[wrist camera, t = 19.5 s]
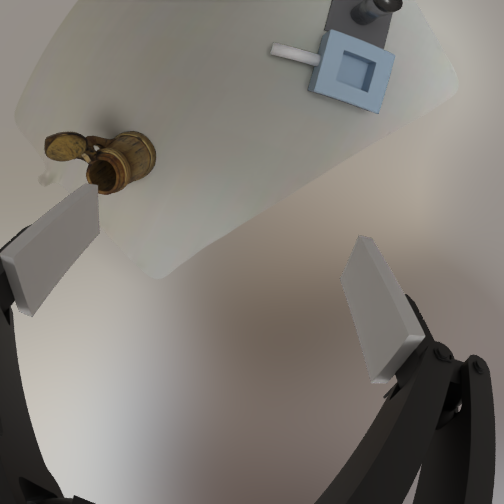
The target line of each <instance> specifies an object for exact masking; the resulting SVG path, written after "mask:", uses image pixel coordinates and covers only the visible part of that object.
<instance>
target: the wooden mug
mask: <svg viewBox="0 0 504 504" xmlns="http://www.w3.org/2000/svg"><path fill="white" fill-rule="evenodd" d="M93 145H96V146H98V147H99V148H100V149H99V150H97V151H95V150H94V147H93ZM45 154H46V156H47V157H49V158H50V159H52V160H56V161H69V160H72V159H76V158H78V159H81V160H84V161H85V162H87V163H88V164H89V165H88V168H87V172H86V177H87V181H88V183H89V184H94V185H98V193H99V194H104V195H109V194H111V193H115V192H118V191H120V190H122V189H123V188H124V187H126V185H127V184H129V183H131V182H133V181H136V180H139V179H141V178H143V177H145V176H146V175H148V174H149V173H150V172H151V170H152V169H153V167H154V165H155V160H156V151H155V149H154V146H153V145H152V143H151V142H150V140H149V139H148V138H147V137H146V136H144V135H142V134H141V133H138V132H135V131H130V132H124V133H121V134H119V135H117V136H116V137H115V138H114V139H105V138H101V137H97V136H87V137H84V136H83V135H81V134H79V133H75V132H60V133H56V134H53V135H51V136H48V137H47V138H46V139H45Z"/></svg>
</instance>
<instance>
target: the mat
mask: <svg viewBox="0 0 504 504" xmlns="http://www.w3.org/2000/svg"><path fill="white" fill-rule="evenodd" d="M362 1H363V0H332V3H331V7H330V10H329V14H328V18H327V22H326V25H325V29H324V30H325V31H329V30H331V29H332V30H335V31H338V32H341V33H344V34H346V35H349V36H352V37H354V38H357V39H360V40H362V41H365V42H367V43H369V44H372V45H374V46H376V47H379V48H381V49H384V46H385V42H386V38H387V34H388V30H389V25H390V21H391V17H392V13H391V14H388V15H386V16H384V17H382V18H380V19H378V20H376V21H373V22H371V23H369V24H367V25H359V24H357V23H356V22H354V21H353V20H352V18H351V15H350V12H351V9H352V8H354V7H355V6H356V5H357V4H359V3H360V2H362Z"/></svg>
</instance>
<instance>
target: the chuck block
mask: <svg viewBox="0 0 504 504" xmlns="http://www.w3.org/2000/svg"><path fill="white" fill-rule="evenodd" d="M271 55H276V56H280V57H284V58H288V59H292V60H295V61H299V62H303V63H306V64H310V65H313V66H314V69H313V73H312V77H311V80H310V84H309V87H308V91H312V92H315V93H318V94H321V95H325V96H328V97H331V98H334V99H337V100H340V101H343V102H345V103H348V104H351V105H354V106H356V107H359V108H362V109H364V110H367V111H371V112H374V113H377V114H379V111H380V108H381V105H382V101H383V98H384V95H385V91H386V88H387V84H388V81H389V77H390V74H391V70H392V66H393V63H394V59H395V55H394V54H392V53H390V52H388V51H385V50H383V49H381V48H379V47H376V46H374V45H372V44H369V43H367V42H365V41H362V40H360V39H357V38H354V37H352V36H349V35H346V34H344V33H341V32H338V31H335V30H332V29H331V30H329V31H328V32H327V33H325V34H324V35H323V36H322V40H321V44H320V47H319V51H318V54H316V53H312V52H309V51H305V50H302V49H298V48H295V47H291V46H287V45H283V44H279V43H274V42H273V46H272V50H271Z"/></svg>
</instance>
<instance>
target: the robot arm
mask: <svg viewBox="0 0 504 504" xmlns="http://www.w3.org/2000/svg"><path fill="white" fill-rule="evenodd" d="M99 233H100V230H99V209H98V185H94V184H87V183H85V184H84V185H83V186H81V187H80V188H78V189H77V190H76V191H74V192H73V193H71V194H70V195H69V196H67V197H66V198H65V199H63V200H62V201H61V202H59V203H58V204H57V205H56V206H54V207H53V208H52V209H50V210H49V211H48V212H47V213H45V214H44V215H43V216H42V217H40V218H39V219H38V220H37V221H36V222H34V223H33V224H31V225H29V226H27V227H25V228H24V229H22V230H21V231H20V232H19V233H18V234H17V235H16V236H15V237H13V238H12V239H11V241H9V242H8V243H7V244H5V245H4V246H3V247H2V248H1V249H0V504H95V503H92V502H90V501H87V500H85V499H82V498H80V497H78V496H75V495H74V497H73V499H72V498H64V496H63V494H62V492H61V490H60V487H59V486H58V484H57V482H56V481H55V479H54V477H53V476H52V475H51V473H50V472H49V471H48V469H47V467H46V465H45V463H44V460H43V458H42V455H41V452H40V449H39V446H38V443H37V440H36V437H35V434H34V430H33V427H32V424H31V421H30V416H29V413H28V409H27V405H26V400H25V396H24V391H23V387H22V381H21V376H20V370H19V365H18V358H17V350H16V342H15V333H14V322H13V312H12V309H11V305H12V303H13V302H14V301H15V302H16V305H17V307H18V310H19V312H21V313H24V314H26V315H28V316H31V317H33V316H34V314H35V313H36V311H37V310H38V309H39V307H40V306H41V304H42V303H43V302H44V300H45V299H46V297H47V296H48V295H49V294H50V292H51V291H52V290H53V288H54V287H55V286H56V285H57V283H58V282H59V281H60V279H61V278H62V277H63V276H64V274H65V273H66V272H67V271H68V269H69V268H70V267H71V266H72V265H73V263H74V262H75V261H76V260H77V259H78V257H79V256H80V255H81V254H82V253H83V251H84V250H85V249H86V248H87V247H88V246H89V244H90V243H91V242H92V241H93V240H94V239H95V238H96V237H97V236H98V234H99ZM340 281H341V284H342V286H343V290H344V293H345V295H346V299H347V302H348V305H349V308H350V311H351V315H352V318H353V321H354V324H355V327H356V331H357V334H358V338H359V341H360V345H361V348H362V352H363V355H364V359H365V363H366V366H367V369H368V373H369V378H370V381H371V383H388V381H389V380H390V379H391V378H392V377H393V376H394V375H396V378H397V381H398V382H397V383H396V384H395V385H394V386H393V387H392V388H391V389H390V390H389V391H388V392H387V393H386V394H385V396H384V398H386V397H387V396H388V397H387V399H386V401H385V402H384V404H383V406H382V408H381V409H380V411H379V413H378V415H377V416H376V418H375V420H374V421H373V423H372V425H371V426H370V428H369V430H368V431H367V433H366V434H365V436H364V437H363V439H362V441H361V442H360V444H359V445H358V447H357V448H356V450H355V451H354V453H353V454H352V455H351V457H350V458H349V460H348V461H347V463H346V464H345V465H344V467H343V468H342V469H341V471H340V472H339V474H338V475H337V476H336V477H335V479H334V480H333V481H332V483H331V484H330V485H329V487H328V488H327V489H326V490H325V491H324V493H323V494H322V495H321V496H320V498H319V499H318V500H317V501H316V502H315V503H314V504H402V503H403V501H404V499H405V497H406V495H407V493H408V492H409V489H410V487H411V485H412V484H413V481H414V479H415V477H416V475H417V473H418V471H419V469H420V466H421V464H422V466H421V471H420V476H419V480H418V485H417V489H416V493H415V497H414V500H413V504H492V497H493V488H494V475H495V416H494V404H493V393H492V385H491V377H490V371H489V368H488V366H487V364H486V362H485V361H484V360H483V359H482V358H480V357H479V356H477V355H470V357H469V358H468V359H467V360H466V361H465V362H461V361H458V360H455V359H454V356H453V354H452V352H451V351H450V349H449V348H448V347H447V346H445V345H444V344H442V343H440V342H436V341H434V339H433V337H432V335H431V333H430V331H429V329H428V327H427V325H426V323H425V321H424V320H423V317H422V315H421V313H419V309H418V307H417V306H416V304H415V302H414V301H413V300H412V299H411V298H410V297H409V296H408V295H407V294H404V292H403V291H402V289H401V287H400V285H399V283H398V281H397V280H396V278H395V276H394V274H393V272H392V271H391V269H390V267H389V266H388V264H387V262H386V260H385V259H384V257H383V255H382V254H381V252H380V250H379V249H378V247H377V246H376V244H375V242H374V240H373V239H372V238H370V237H366V236H361V235H359V236H358V238H357V241H356V243H355V246H354V248H353V251H352V253H351V255H350V257H349V260H348V262H347V265H346V267H345V269H344V272H343V273H342V276H341V278H340ZM461 404H462V407H461V410H460V411H459V412H458V406H460V405H461Z"/></svg>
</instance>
